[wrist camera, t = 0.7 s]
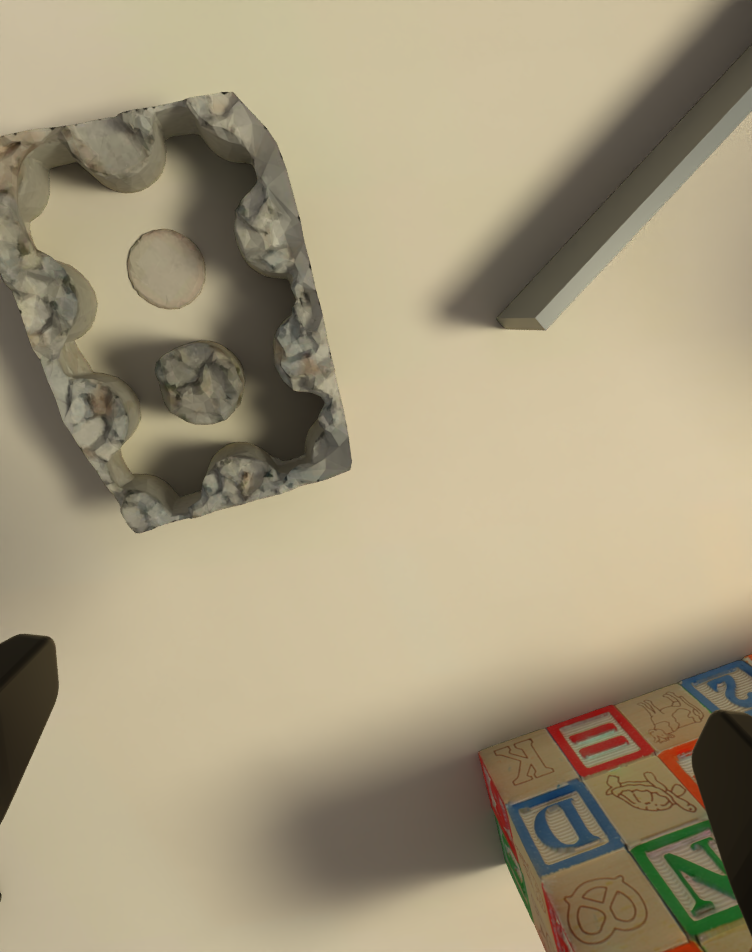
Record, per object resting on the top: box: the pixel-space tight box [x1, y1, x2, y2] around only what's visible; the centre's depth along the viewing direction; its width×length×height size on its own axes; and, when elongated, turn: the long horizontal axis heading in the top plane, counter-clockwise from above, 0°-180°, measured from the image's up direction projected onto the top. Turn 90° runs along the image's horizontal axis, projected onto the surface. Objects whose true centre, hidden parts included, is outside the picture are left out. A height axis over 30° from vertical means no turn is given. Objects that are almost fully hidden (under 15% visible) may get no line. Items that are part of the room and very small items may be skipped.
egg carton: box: [0, 92, 352, 533], centre depth 17 cm, size 11×8×4 cm
